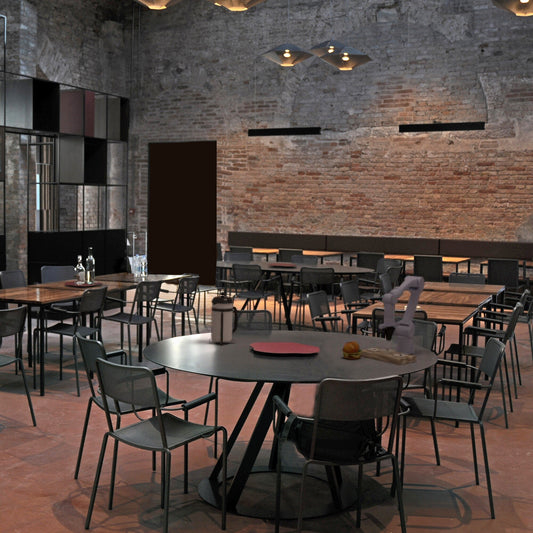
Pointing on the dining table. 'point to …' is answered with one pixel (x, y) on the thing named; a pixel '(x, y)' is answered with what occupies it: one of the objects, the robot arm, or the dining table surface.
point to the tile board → (388, 357)
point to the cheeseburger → (352, 350)
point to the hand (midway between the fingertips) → (388, 340)
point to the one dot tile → (374, 350)
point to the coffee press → (223, 319)
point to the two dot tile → (387, 351)
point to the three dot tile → (400, 355)
